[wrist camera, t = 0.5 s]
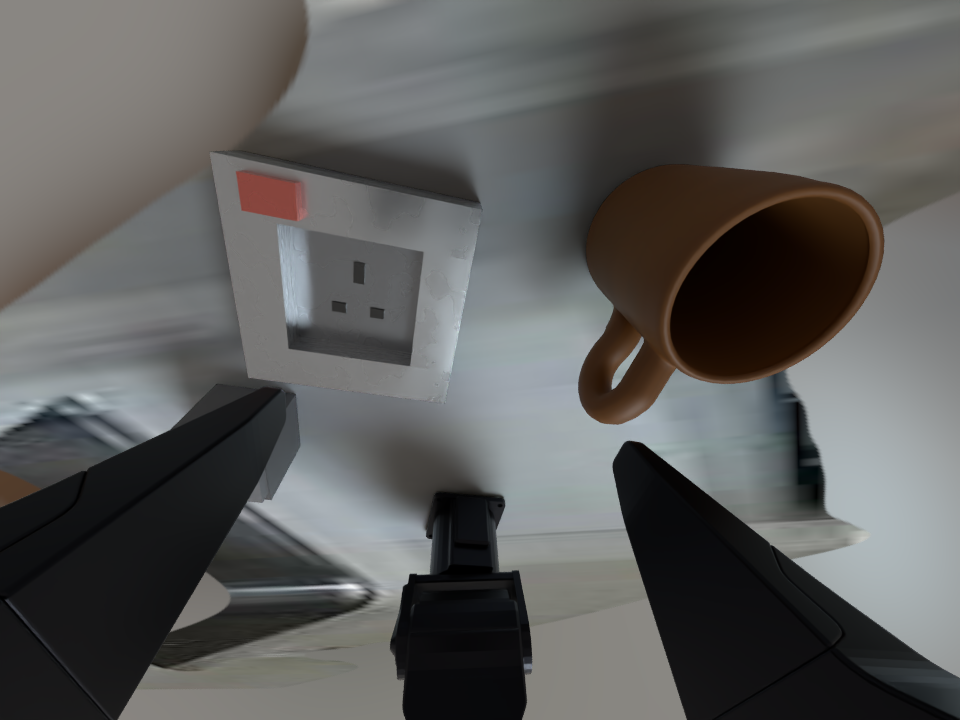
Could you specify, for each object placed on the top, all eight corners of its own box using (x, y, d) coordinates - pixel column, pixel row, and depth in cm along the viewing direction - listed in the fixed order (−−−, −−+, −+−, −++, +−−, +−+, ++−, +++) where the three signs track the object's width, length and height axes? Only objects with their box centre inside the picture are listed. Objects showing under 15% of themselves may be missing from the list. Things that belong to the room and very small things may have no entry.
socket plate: (446, 382, 25) (444, 409, 22) (267, 356, 23) (242, 383, 21) (480, 202, 19) (483, 212, 16) (239, 150, 17) (200, 152, 15)
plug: (300, 445, 28) (265, 510, 23) (229, 437, 27) (177, 503, 22) (296, 393, 25) (255, 455, 20) (217, 383, 24) (155, 444, 19)
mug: (596, 368, 25) (659, 475, 17) (510, 315, 22) (536, 411, 14) (743, 217, 20) (934, 268, 12) (653, 128, 17) (816, 115, 9)
